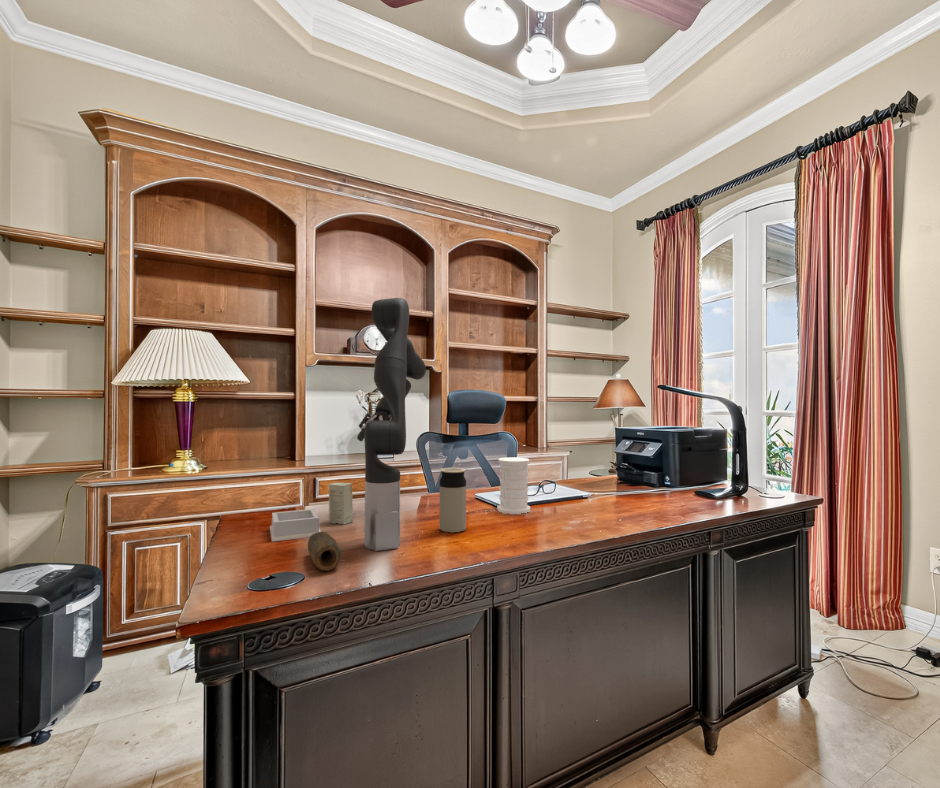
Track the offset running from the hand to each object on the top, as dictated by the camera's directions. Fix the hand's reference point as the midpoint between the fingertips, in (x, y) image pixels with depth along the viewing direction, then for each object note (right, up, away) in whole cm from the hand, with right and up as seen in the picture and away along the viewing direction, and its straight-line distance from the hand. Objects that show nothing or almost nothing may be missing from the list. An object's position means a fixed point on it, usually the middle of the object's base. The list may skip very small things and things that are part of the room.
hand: (368, 441), depth 155 cm
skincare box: (-7, -25, -9) cm, 27 cm away
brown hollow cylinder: (-1, -25, -45) cm, 51 cm away
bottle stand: (-17, -24, -20) cm, 36 cm away
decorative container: (+50, -25, +8) cm, 56 cm away
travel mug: (+29, -25, -16) cm, 41 cm away
